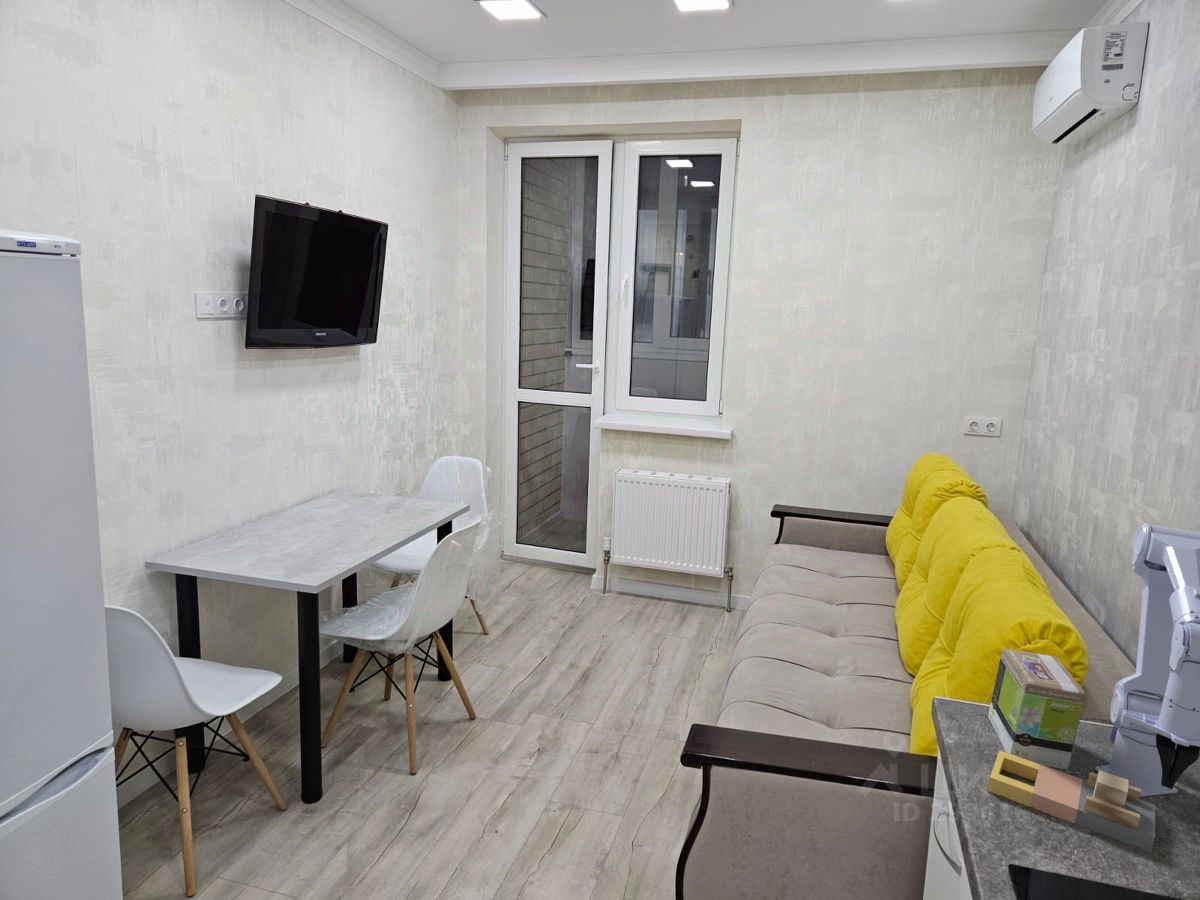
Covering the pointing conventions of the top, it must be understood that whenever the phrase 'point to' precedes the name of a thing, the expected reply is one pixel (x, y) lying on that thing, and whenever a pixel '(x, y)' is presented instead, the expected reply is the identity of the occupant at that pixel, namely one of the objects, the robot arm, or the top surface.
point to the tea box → (1036, 708)
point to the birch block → (1111, 789)
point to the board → (1066, 799)
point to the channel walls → (1113, 806)
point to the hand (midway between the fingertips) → (1166, 784)
